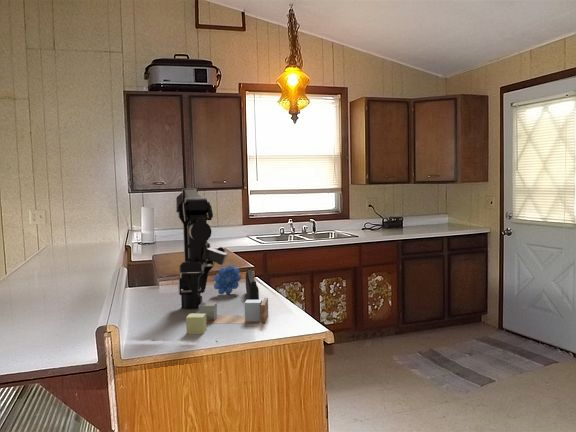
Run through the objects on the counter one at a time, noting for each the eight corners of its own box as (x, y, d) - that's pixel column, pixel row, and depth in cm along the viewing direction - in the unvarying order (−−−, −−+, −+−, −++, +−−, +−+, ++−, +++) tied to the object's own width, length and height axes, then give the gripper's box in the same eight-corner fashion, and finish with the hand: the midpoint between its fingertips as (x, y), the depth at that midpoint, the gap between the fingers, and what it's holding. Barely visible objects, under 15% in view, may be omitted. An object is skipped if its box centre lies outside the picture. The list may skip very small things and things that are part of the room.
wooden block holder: (196, 326, 149) (195, 304, 148) (203, 318, 158) (202, 297, 157) (264, 326, 147) (264, 304, 146) (268, 318, 156) (268, 297, 155)
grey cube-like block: (199, 321, 151) (198, 305, 151) (202, 317, 155) (201, 302, 155) (214, 321, 151) (213, 305, 150) (217, 317, 155) (216, 302, 154)
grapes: (238, 290, 197) (237, 262, 196) (243, 293, 190) (242, 264, 190) (211, 293, 192) (210, 264, 191) (215, 297, 186) (214, 267, 185)
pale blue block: (245, 321, 150) (244, 302, 149) (247, 317, 154) (246, 299, 153) (260, 321, 149) (260, 302, 149) (262, 317, 153) (261, 299, 153)
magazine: (259, 288, 160) (253, 251, 188) (249, 289, 160) (245, 251, 188) (259, 330, 166) (253, 288, 194) (250, 331, 166) (245, 288, 194)
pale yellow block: (186, 337, 139) (186, 317, 138) (190, 332, 143) (189, 313, 142) (203, 337, 138) (202, 317, 138) (206, 332, 142) (206, 313, 142)
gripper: (217, 241, 130) (219, 298, 130) (230, 237, 148) (232, 286, 149) (178, 243, 130) (180, 298, 131) (195, 238, 149) (197, 287, 149)
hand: (199, 292), depth 140 cm, fingers open, 9 cm apart
